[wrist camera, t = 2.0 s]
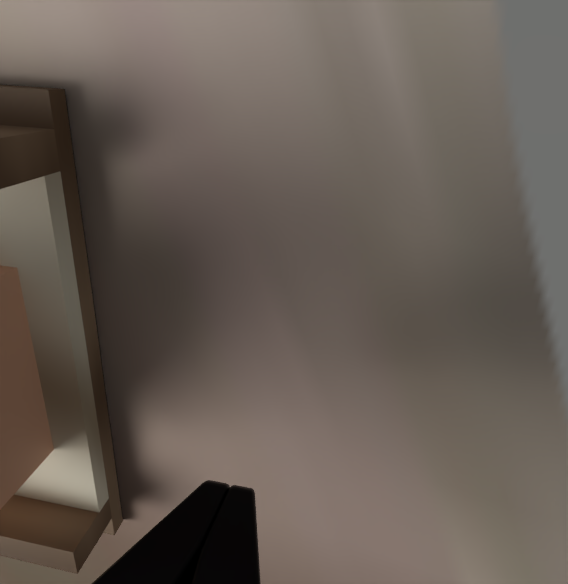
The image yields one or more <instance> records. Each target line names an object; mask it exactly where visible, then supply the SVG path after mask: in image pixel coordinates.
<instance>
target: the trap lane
mask: <svg viewBox="0 0 568 584" xmlns="http://www.w3.org/2000/svg"><path fill="white" fill-rule="evenodd" d="M0 265H1V266H9V267H16V268H17V270H18V275H19V280H20V284H21V289H22V294H23V299H24V304H25V309H26V314H27V319H28V324H29V329H30V334H31V339H32V343H33V348H34V353H35V358H36V363H37V368H38V373H39V378H40V383H41V388H42V393H43V398H44V402H45V407H46V412H47V417H48V422H49V427H50V432H51V437H52V442H53V447H54V450H53V451H52V452H51V453H50V454H49V456H48V457H47V458H46V459H45V460H44V461H43V462H42V463H41V465H40V466H39V467H38V468H37V469H36V470H35V471H34V472H33V474H32V475H31V476H30V477H29V478H28V479H27V480H26V481H25V483H24V484H23V485H22V486H21V487H20V488H19V489H18V490H17V492H16V493H15V494H14V495H13V496H12V497H11V498H10V499H9V501H8V502H7V503H6V504H5V505H4V506H3V507H2V508H1V510H0V556H4V557H9V558H13V559H17V560H21V561H26V562H30V563H34V564H38V565H43V566H47V567H51V568H55V569H60V570H64V571H68V572H72V573H77V574H78V572H79V570H80V569H81V567H82V566H83V564H84V562H85V561H86V559H87V558H88V556H89V554H90V553H91V551H92V549H93V548H94V546H95V545H96V543H97V541H98V540H99V538H100V537H101V535H102V533H107V534H111V535H115V533H116V532H117V530H118V528H119V526H120V525H121V523H122V521H123V518H122V511H121V504H120V496H119V489H118V482H117V474H116V467H115V459H114V452H113V445H112V437H111V430H110V422H109V415H108V408H107V400H106V393H105V385H104V378H103V371H102V363H101V356H100V348H99V341H98V334H97V326H96V319H95V311H94V304H93V297H92V289H91V282H90V274H89V267H88V260H87V252H86V245H85V237H84V230H83V223H82V215H81V208H80V200H79V193H78V186H77V178H76V171H75V163H74V156H73V149H72V141H71V134H70V126H69V119H68V112H67V104H66V97H65V89H58V88H42V87H26V86H11V85H0Z"/></svg>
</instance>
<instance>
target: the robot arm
mask: <svg viewBox="0 0 568 584" xmlns="http://www.w3.org/2000/svg"><path fill="white" fill-rule="evenodd" d="M92 584H260V569H259V553H258V538H257V522H256V506H255V493H254V490H253V489H251V488H247V487H242V486H237V485H233V486H231V487H230V486H229V485H228V484H226V483H221V482H216V481H210V480H208V481H205V482H204V483H202V484H201V485H200V486H199V487H198V488H197V489H196V490H195V491H194V492H192V493H191V494H190V495H189V496H188V497H187V498H186V499H185V500H184V501H183V502H181V503H180V504H179V505H178V506H177V507H176V508H175V509H174V510H173V511H171V512H170V513H169V514H168V515H167V516H166V517H165V518H164V519H163V520H162V521H160V522H159V523H158V524H157V525H156V526H155V527H154V528H153V529H152V530H150V531H149V532H148V533H147V534H146V535H145V536H144V537H143V538H142V539H141V540H139V541H138V542H137V543H136V544H135V545H134V546H133V547H132V548H131V549H129V550H128V551H127V552H126V553H125V554H124V555H123V556H122V557H121V558H120V559H118V560H117V561H116V562H115V563H114V564H113V565H112V566H111V567H110V568H109V569H107V570H106V571H105V572H104V573H103V574H102V575H101V576H100V577H99V578H97V579H96V580H95V581H94V582H93V583H92Z"/></svg>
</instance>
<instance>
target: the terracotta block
mask: <svg viewBox="0 0 568 584" xmlns="http://www.w3.org/2000/svg"><path fill="white" fill-rule="evenodd" d="M53 450H54V447H53V442H52V437H51V432H50V427H49V422H48V417H47V412H46V407H45V402H44V398H43V393H42V388H41V383H40V378H39V373H38V368H37V363H36V358H35V353H34V348H33V343H32V339H31V334H30V329H29V324H28V319H27V314H26V309H25V304H24V299H23V294H22V289H21V284H20V280H19V275H18V270H17V268H16V267H9V266H1V265H0V510H1V508H2V507H3V506H4V505H5V504H6V503H7V502H8V501H9V499H10V498H11V497H12V496H13V495H14V494H15V493H16V492H17V490H18V489H19V488H20V487H21V486H22V485H23V484H24V483H25V481H26V480H27V479H28V478H29V477H30V476H31V475H32V474H33V472H34V471H35V470H36V469H37V468H38V467H39V466H40V465H41V463H42V462H43V461H44V460H45V459H46V458H47V457H48V456H49V454H50V453H51V452H52V451H53Z"/></svg>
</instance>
